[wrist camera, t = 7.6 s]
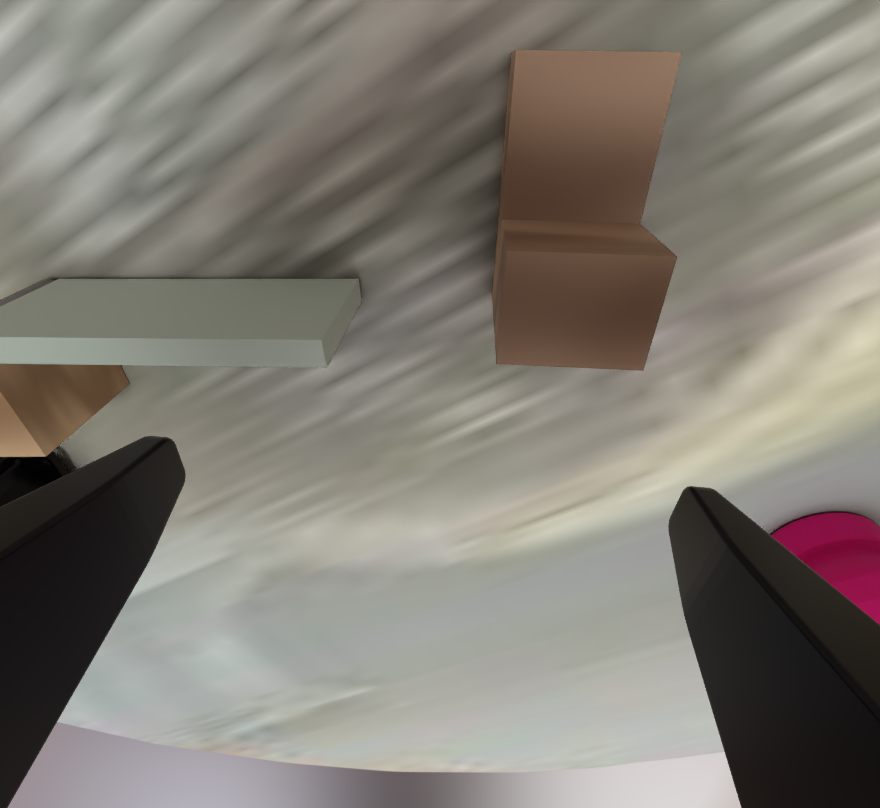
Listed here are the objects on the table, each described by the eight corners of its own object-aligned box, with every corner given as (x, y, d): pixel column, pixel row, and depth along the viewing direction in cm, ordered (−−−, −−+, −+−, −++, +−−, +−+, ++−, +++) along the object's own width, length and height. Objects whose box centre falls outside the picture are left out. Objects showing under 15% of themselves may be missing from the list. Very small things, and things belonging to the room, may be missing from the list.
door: (48, 300, 21) (-72, 362, 16) (36, 278, 20) (-91, 336, 16) (361, 301, 20) (326, 368, 15) (358, 278, 19) (321, 339, 15)
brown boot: (601, 297, 19) (643, 370, 15) (492, 292, 20) (496, 363, 15) (653, 55, 15) (740, 44, 10) (511, 53, 15) (526, 40, 10)
